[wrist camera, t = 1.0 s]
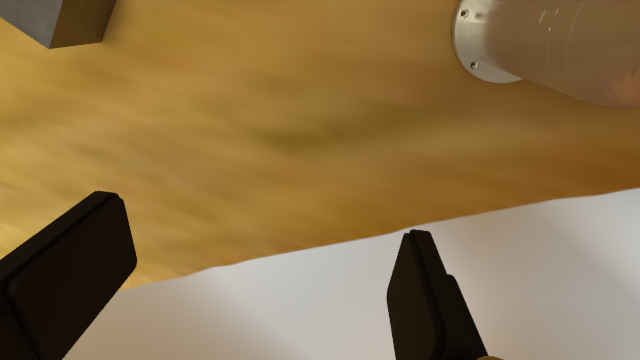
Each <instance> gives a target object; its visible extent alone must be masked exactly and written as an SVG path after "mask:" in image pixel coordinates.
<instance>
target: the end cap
mask: <svg viewBox="0 0 640 360" xmlns="http://www.w3.org/2000/svg"><path fill="white" fill-rule="evenodd" d="M115 2H116V0H0V17H1V18H3V19H4V20H6V21H7V22H9V23H10V24H12V25H13V26H15V27H16V28H18V29H19V30H21V31H22V32H24V33H25V34H27V35H28V36H30V37H31V38H33V39H34V40H36V41H37V42H39V43H40V44H42V45H43V46H45V47H47V48H48V49H53V48H61V47H68V46H76V45H84V44H92V43H100V42H101V40H102V37H103V34H104V32H105V29H106V26H107V23H108V21H109V18H110V15H111V12H112V10H113V7H114V4H115Z"/></svg>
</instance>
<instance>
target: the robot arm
mask: <svg viewBox="0 0 640 360" xmlns="http://www.w3.org/2000/svg"><path fill="white" fill-rule="evenodd" d="M462 11H464V15H463V16H461V12H462ZM452 43H453V48H454V51H455V54H456V57H457V58H458V60H459V62H460V63H461V65H462V66H463V67H464V68H465V69H466V70H467V71H468V72H469V73H471V74H472V75H474V76H475V77H477V78H479V79H482V80H484V81H488V82H492V83H510V82H516V81H519V80H523V79H525V80H528V81H531V82H533V83H536V84H539V85H541V86H544V87H547V88H549V89H552V90H555V91H557V92H560V93H562V94H565V95H568V96H570V97H573V98H576V99H578V100H581V101H583V102H586V103H589V104H592V105H596V106H600V107H606V108H616V109H625V108H638V107H640V0H460V1H459V3H458V5H457V8H456V10H455V14H454V18H453V22H452ZM472 62H473V63H474V65H473V66H470V65H471V63H472ZM136 264H137V257H136V252H135V248H134V244H133V239H132V235H131V230H130V226H129V222H128V217H127V213H126V209H125V204H124V201H123V199H122V198H120V197H119V195H118V194H116V193H112V192H104V191H95V192H93V193H92V194H90V195H89V196H88V197H86V198H85V199H83V200H82V201H81V202H79V203H78V204H77V205H75V206H74V207H72V208H71V209H70V210H68V211H67V212H66V213H64V214H63V215H61V216H60V217H59V218H57V219H56V220H55V221H53V222H52V223H50V224H49V225H48V226H46V227H45V228H43V229H42V230H41V231H39V232H38V233H37V234H35V235H34V236H32V237H31V238H30V239H28V240H27V241H26V242H24V243H23V244H21V245H20V246H19V247H17V248H16V249H15V250H13V251H12V252H10V253H9V254H8V255H6V256H5V257H4V258H2V259H1V260H0V360H62V359H63V358H64V357H65V355H66V354H67V353H68V351H69V350H70V349H71V348H72V347H73V345H74V344H75V343H76V342H77V340H78V339H79V338H80V336H81V335H82V334H83V333H84V331H85V330H86V329H87V328H88V327H89V325H90V324H91V323H92V322H93V320H94V319H95V318H96V317H97V315H98V314H99V313H100V312H101V310H102V309H103V308H104V307H105V306H106V304H107V303H108V302H109V301H110V299H111V298H112V297H113V296H114V294H115V293H116V292H117V291H118V289H119V288H120V287H121V286H122V284H123V283H124V282H125V281H126V279H127V278H128V277H129V276H130V274H131V273H132V272H133V271H134V269H135V267H136ZM387 305H388V312H389V318H390V324H391V331H392V337H393V344H394V350H395V357H396V360H503V359H500V358H497V357H493V356H488V354H487V351H486V349H485V347H484V344H483V342H482V340H481V337H480V335H479V333H478V330H477V328H476V326H475V323H474V321H473V319H472V317H471V314H470V312H469V309H468V307H467V305H466V302H465V300H464V298H463V295H462V293H461V291H460V288H459V286H458V283H457V281H456V279H455V278H454V276H452V275H449V274H447V273H446V270H445V268H444V265H443V263H442V261H441V258H440V255H439V253H438V250H437V248H436V245H435V243H434V240H433V238H432V235H431V233H430V232H429V231H422V230H414V229H412V230H411V231H410V232H409V233H405V234H404V235H403V238H402V242H401V245H400V249H399V252H398V256H397V259H396V263H395V266H394V269H393V273H392V276H391V280H390V283H389V286H388V290H387Z"/></svg>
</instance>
